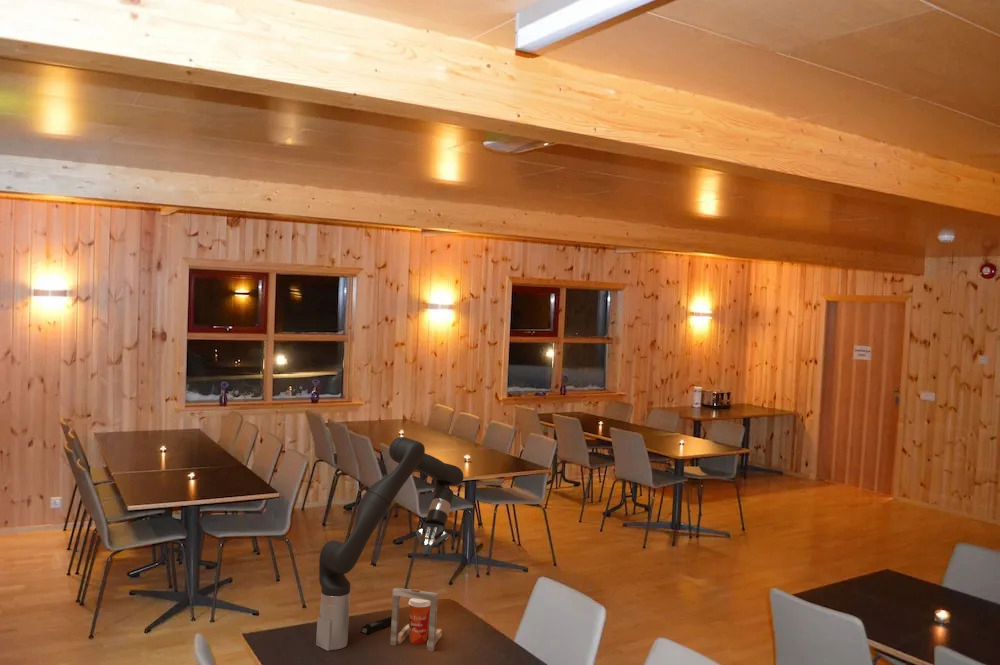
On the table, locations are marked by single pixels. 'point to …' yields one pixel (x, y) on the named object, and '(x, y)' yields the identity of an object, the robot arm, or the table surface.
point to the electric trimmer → (376, 625)
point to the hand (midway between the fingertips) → (425, 556)
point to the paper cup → (418, 620)
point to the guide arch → (398, 638)
